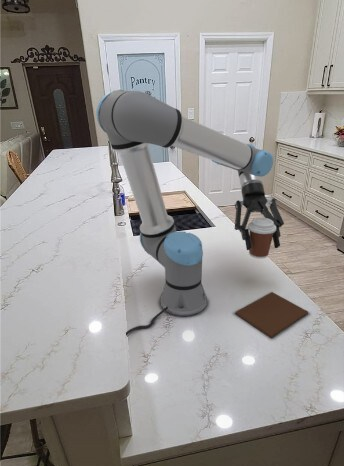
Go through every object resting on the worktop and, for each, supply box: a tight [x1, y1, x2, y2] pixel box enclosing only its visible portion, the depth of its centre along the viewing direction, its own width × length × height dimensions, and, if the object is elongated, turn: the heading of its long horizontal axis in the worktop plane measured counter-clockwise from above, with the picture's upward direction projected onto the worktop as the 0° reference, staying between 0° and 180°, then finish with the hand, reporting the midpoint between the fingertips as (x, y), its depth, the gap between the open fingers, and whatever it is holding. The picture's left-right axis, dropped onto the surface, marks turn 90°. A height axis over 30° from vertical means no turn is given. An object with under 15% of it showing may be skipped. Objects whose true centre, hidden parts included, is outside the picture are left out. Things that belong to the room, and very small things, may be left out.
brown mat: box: [234, 291, 309, 339], centre depth 103 cm, size 18×14×1 cm
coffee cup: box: [247, 217, 276, 260], centre depth 109 cm, size 9×9×12 cm
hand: (263, 247), depth 107 cm, fingers closed on coffee cup, 9 cm apart
